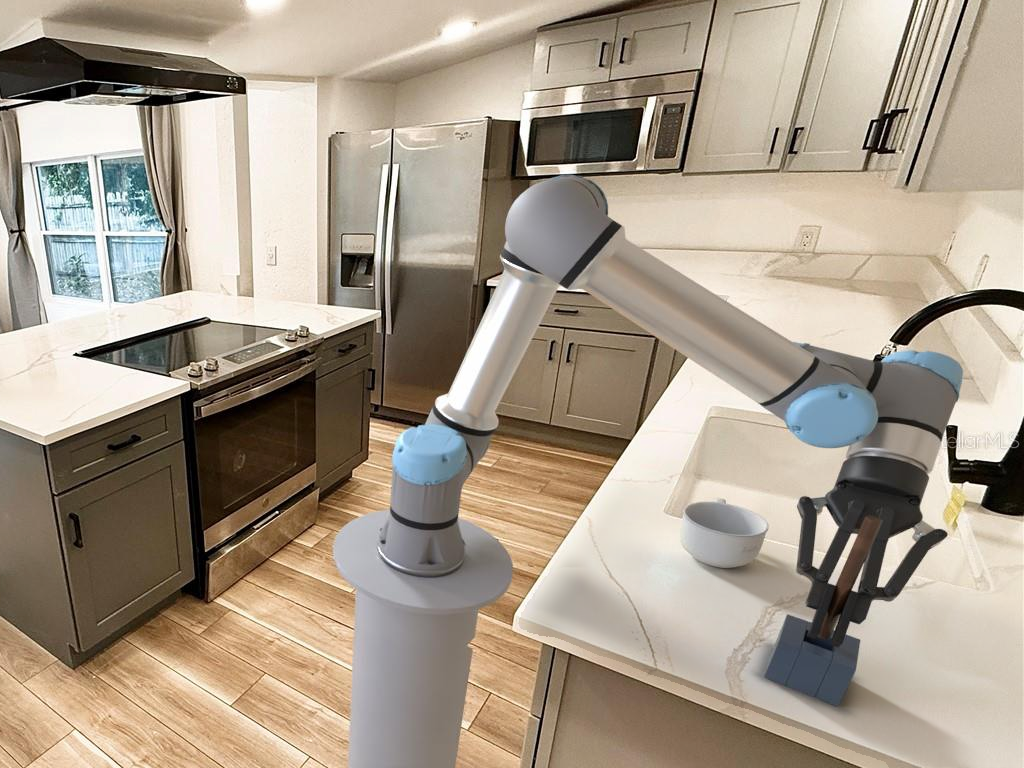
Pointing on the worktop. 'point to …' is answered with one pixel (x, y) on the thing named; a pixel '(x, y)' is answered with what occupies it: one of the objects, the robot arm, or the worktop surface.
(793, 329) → the worktop surface
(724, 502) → the teacup
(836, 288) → the worktop surface
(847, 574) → the stick
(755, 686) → the worktop surface
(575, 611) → the worktop surface
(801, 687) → the stand
